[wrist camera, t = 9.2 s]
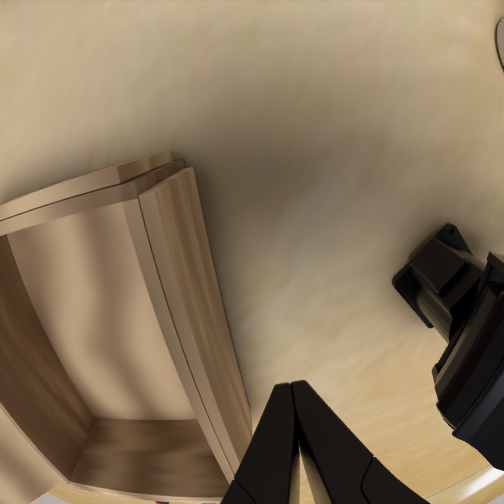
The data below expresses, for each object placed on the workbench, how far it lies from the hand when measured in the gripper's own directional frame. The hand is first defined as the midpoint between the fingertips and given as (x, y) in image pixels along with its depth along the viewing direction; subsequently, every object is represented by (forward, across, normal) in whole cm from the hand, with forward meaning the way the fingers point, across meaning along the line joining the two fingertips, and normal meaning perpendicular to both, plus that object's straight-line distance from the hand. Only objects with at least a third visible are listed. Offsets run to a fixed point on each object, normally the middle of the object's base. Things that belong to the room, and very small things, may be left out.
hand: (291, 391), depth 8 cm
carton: (+13, +12, +5) cm, 18 cm away
